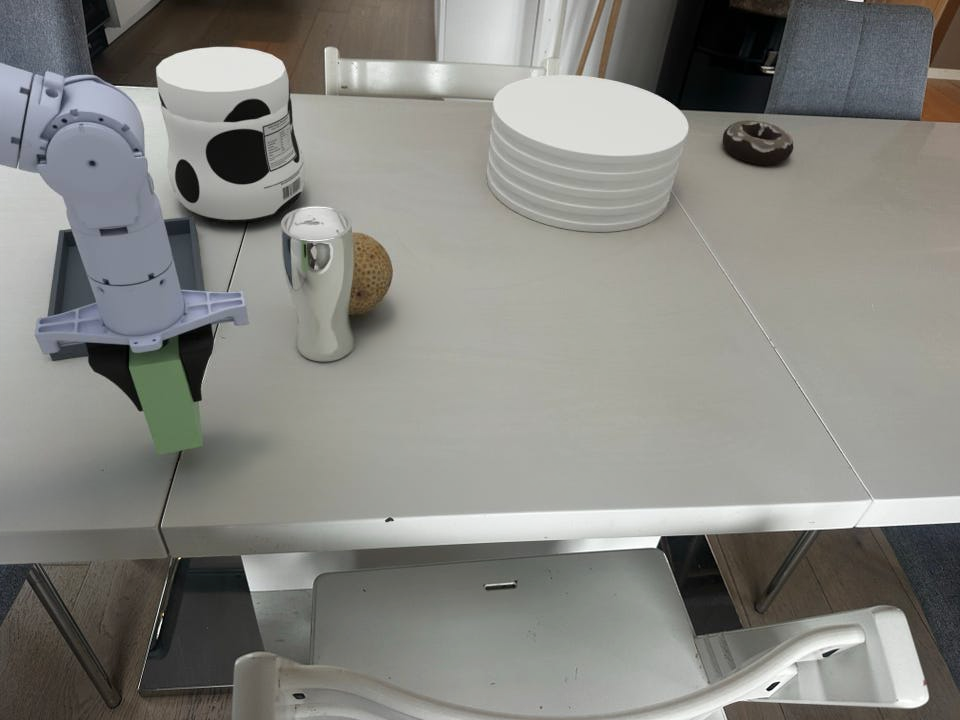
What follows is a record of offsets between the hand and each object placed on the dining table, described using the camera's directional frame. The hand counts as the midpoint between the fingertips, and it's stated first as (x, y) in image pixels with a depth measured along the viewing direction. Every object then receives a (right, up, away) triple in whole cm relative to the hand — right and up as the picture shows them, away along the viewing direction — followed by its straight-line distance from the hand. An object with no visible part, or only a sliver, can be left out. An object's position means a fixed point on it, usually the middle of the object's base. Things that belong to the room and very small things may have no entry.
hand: (169, 398), depth 59 cm
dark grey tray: (-14, +11, +22) cm, 28 cm away
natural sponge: (+11, +8, +22) cm, 26 cm away
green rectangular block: (0, -3, +3) cm, 4 cm away
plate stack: (+41, +30, +50) cm, 71 cm away
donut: (+73, +39, +64) cm, 105 cm away
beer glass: (+9, +5, +18) cm, 20 cm away
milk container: (-7, +25, +39) cm, 47 cm away
